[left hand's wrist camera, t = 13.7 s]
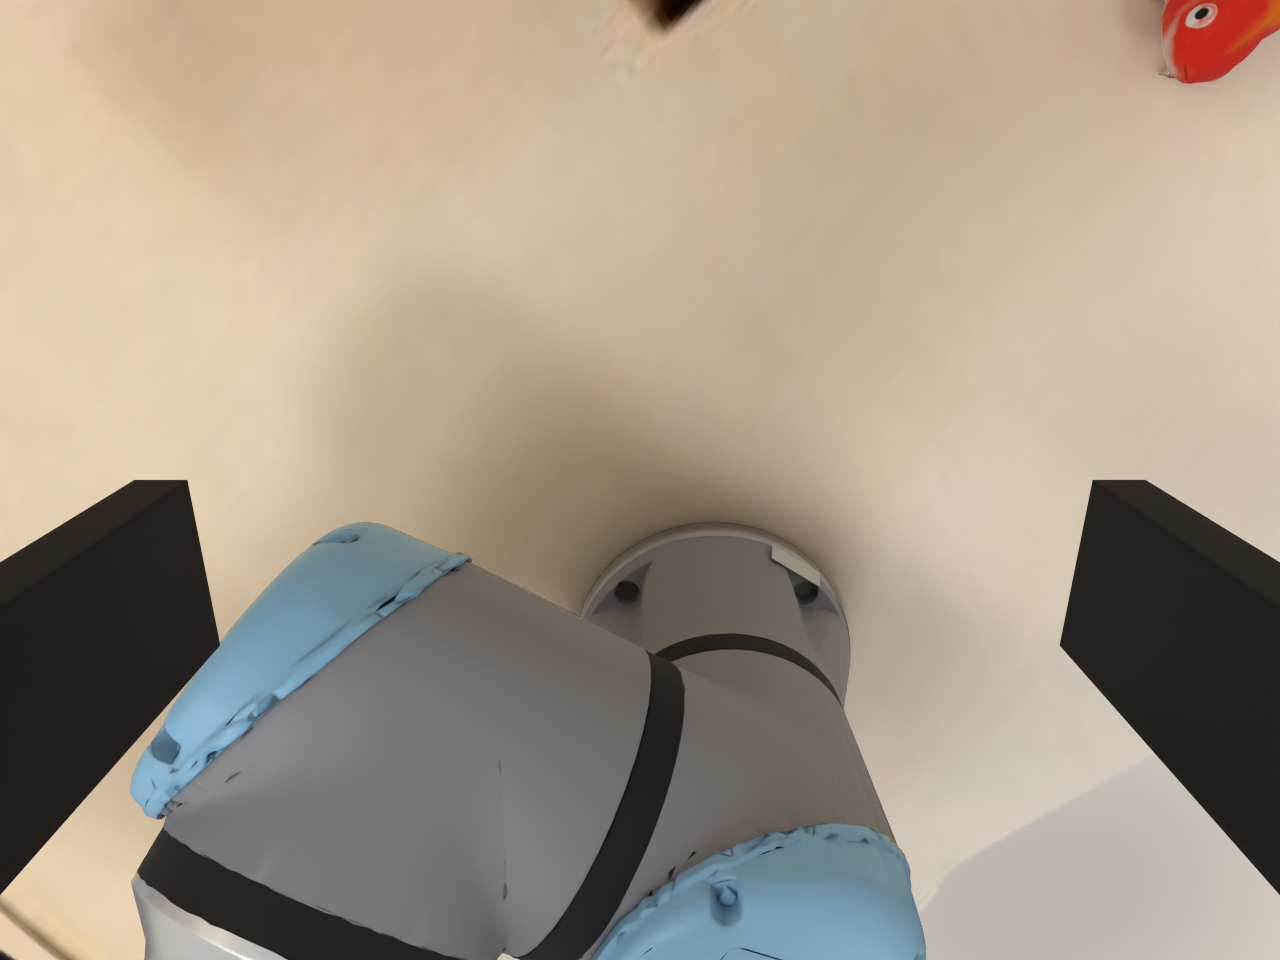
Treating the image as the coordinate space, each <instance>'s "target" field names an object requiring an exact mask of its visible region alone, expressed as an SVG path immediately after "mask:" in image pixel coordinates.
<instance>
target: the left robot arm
mask: <svg viewBox="0 0 1280 960" xmlns="http://www.w3.org/2000/svg"><path fill="white" fill-rule="evenodd" d="M471 562H472V558H470V557H469V556H468V555H466V554H464V553H460V552H458V553H454V554H451V553H449V552H447V551H444V550H442V549H440V548H437V547H435V546H433V545H430V544H428V543H426V542H423V541H421V540H419V539H416V538H414V537H412V536H409V535H407V534H405V533H402V532H400V531H398V530H395V529H393V528H391V527H388V526H386V525H382V524H378V523H371V522H363V523H355V524H350V525H346V526H343V527H340V528H338V529H336V530H334V531H332V532H330V533H328V534H326V535H325V536H323V537H322V538H320V539H319V540H318V541H316V542H315V543H313V544H312V545H311V546H310V547H309V548H308V549H306V550H305V551H304V552H303V553H302V554H300V555H299V556H298V557H297V558H296V559H295V560H294V561H293V562H292V563H291V564H289V565H288V566H287V567H286V568H285V569H284V570H283V571H282V572H281V573H280V574H279V575H278V576H277V577H276V578H275V579H274V580H273V582H272V583H271V584H270V585H269V586H268V587H267V588H266V589H265V590H264V591H263V592H262V594H261V595H260V596H259V597H258V598H257V599H256V600H255V601H254V602H253V604H252V605H251V606H250V607H249V608H248V609H247V610H246V611H245V613H244V614H243V615H242V616H241V617H240V619H239V620H238V621H237V622H236V623H235V624H234V626H233V627H232V628H231V629H230V630H229V632H228V633H227V634H226V635H225V637H224V638H223V639H222V640H221V642H219V637H218V632H217V627H216V622H215V617H214V612H213V607H212V602H211V597H210V592H209V587H208V582H207V577H206V572H205V567H204V562H203V557H202V552H201V547H200V542H199V537H198V531H197V526H196V521H195V516H194V511H193V506H192V501H191V496H190V491H189V486H188V481H187V480H134V481H132V482H130V483H129V484H127V485H126V486H124V487H122V488H121V489H119V490H117V491H116V492H114V493H113V494H111V495H109V496H108V497H106V498H104V499H103V500H101V501H99V502H98V503H96V504H95V505H93V506H91V507H90V508H88V509H86V510H85V511H83V512H82V513H80V514H78V515H77V516H75V517H73V518H72V519H70V520H68V521H67V522H65V523H64V524H62V525H60V526H59V527H57V528H55V529H54V530H52V531H51V532H49V533H47V534H46V535H44V536H42V537H41V538H39V539H38V540H36V541H34V542H33V543H31V544H29V545H28V546H26V547H24V548H23V549H21V550H20V551H18V552H16V553H15V554H13V555H11V556H10V557H8V558H7V559H5V560H3V561H2V562H0V894H1V893H2V892H3V891H4V890H5V889H6V888H7V887H8V885H9V884H10V883H11V882H12V881H13V880H14V879H15V877H16V876H17V875H18V874H19V873H20V872H21V871H22V870H23V868H24V867H25V866H26V865H27V864H28V863H29V862H30V860H31V859H32V858H33V857H34V856H35V855H36V854H37V853H38V851H39V850H40V849H41V848H42V847H43V846H44V845H45V843H46V842H47V841H48V840H49V839H50V838H51V837H52V836H53V834H54V833H55V832H56V831H57V830H58V829H59V828H60V826H61V825H62V824H63V823H64V822H65V821H66V820H67V819H68V817H69V816H70V815H71V814H72V813H73V812H74V811H75V809H76V808H77V807H78V806H79V805H80V804H81V803H82V802H83V800H84V799H85V798H86V797H87V796H88V795H89V794H90V792H91V791H92V790H93V789H94V788H95V787H96V786H97V785H98V783H99V782H100V781H101V780H102V779H103V778H104V777H105V775H106V774H107V773H108V772H109V771H110V770H111V769H112V768H113V766H114V765H115V764H116V763H117V762H118V761H119V760H120V758H121V757H122V756H123V755H124V754H125V753H126V752H127V751H128V749H129V748H130V747H131V746H132V745H133V744H134V743H135V741H136V740H137V739H138V738H139V737H140V736H141V735H142V734H143V732H144V731H145V730H146V729H147V728H148V727H149V726H150V724H151V723H152V722H153V721H154V720H155V719H156V718H157V717H158V715H159V714H160V713H161V712H162V711H163V710H164V709H165V707H166V706H167V705H168V704H169V703H170V702H171V701H172V700H173V698H174V697H175V696H176V695H177V694H178V693H179V692H180V691H181V689H182V688H183V687H184V686H185V685H186V684H187V683H188V681H189V680H190V679H191V678H192V677H193V676H194V677H193V678H192V679H191V681H190V682H189V683H188V685H187V686H186V687H185V689H184V690H183V692H182V693H181V695H180V696H179V698H178V699H177V701H176V702H175V703H174V705H173V706H172V708H171V709H170V711H169V713H168V714H167V717H166V719H165V722H164V723H165V724H164V725H163V727H162V728H161V729H160V731H159V732H158V734H157V735H156V737H155V738H154V740H153V741H152V742H151V744H150V745H149V746H148V748H147V749H146V750H145V752H144V753H143V755H142V756H141V758H140V760H139V762H138V764H137V766H136V769H135V771H134V774H133V777H132V780H131V789H130V791H131V795H132V797H133V798H134V800H135V801H136V802H137V803H138V804H140V805H141V806H142V807H143V811H144V813H145V815H146V816H149V817H152V818H154V819H162V818H164V817H165V816H167V817H166V820H165V823H164V826H163V828H162V830H161V831H160V833H159V835H158V836H157V838H156V840H155V841H154V843H153V845H152V846H151V848H150V850H149V852H148V853H147V855H146V857H145V858H144V860H143V862H142V863H141V865H140V867H139V868H138V870H137V872H136V874H135V875H134V877H133V879H132V881H131V883H132V889H133V893H134V896H135V900H136V904H137V908H138V912H139V916H140V920H141V924H142V928H143V932H144V935H145V939H146V944H145V959H144V960H497V959H498V957H499V956H500V955H501V953H505V954H508V955H511V956H512V957H514V958H517V959H520V960H926V952H925V950H926V945H925V939H924V934H923V929H922V925H921V922H920V919H919V915H918V912H917V909H916V905H915V902H914V899H913V895H912V892H911V882H910V868H909V865H908V862H907V860H906V858H905V855H904V854H903V852H902V850H901V849H899V848H898V845H897V843H896V840H895V838H894V835H893V833H892V830H891V828H890V825H889V823H888V820H887V818H886V815H885V813H884V810H883V808H882V805H881V803H880V800H879V798H878V795H877V793H876V790H875V788H874V785H873V783H872V780H871V778H870V775H869V773H868V770H867V768H866V765H865V763H864V760H863V758H862V755H861V753H860V750H859V748H858V745H857V743H856V740H855V738H854V735H853V733H852V730H851V728H850V725H849V723H848V720H847V718H846V715H845V712H844V710H843V709H844V702H845V696H846V689H847V682H848V675H849V668H850V637H849V632H848V626H847V623H846V619H845V616H844V613H843V611H842V609H841V606H840V604H839V602H838V600H837V598H836V595H835V593H834V591H833V589H832V587H831V585H830V584H829V582H828V580H827V579H826V577H825V576H824V575H823V573H822V572H821V571H820V569H819V568H818V567H817V566H816V565H815V564H814V563H813V562H812V561H811V560H810V559H809V558H808V557H807V556H806V555H805V554H804V553H802V552H801V551H800V550H798V549H797V548H796V547H794V546H793V545H791V544H790V543H788V542H786V541H784V540H783V539H781V538H779V537H777V536H774V535H772V534H770V533H768V532H765V531H762V530H759V529H756V528H752V527H748V526H743V525H737V524H730V523H698V524H691V525H685V526H680V527H676V528H672V529H669V530H666V531H663V532H660V533H658V534H655V535H653V536H651V537H648V538H646V539H645V540H643V541H641V542H639V543H637V544H635V545H634V546H632V547H631V548H630V549H628V550H627V551H625V552H624V553H623V554H621V555H620V556H619V557H618V558H617V559H615V560H614V561H613V562H612V563H611V564H610V565H609V566H608V567H607V568H606V569H605V571H604V572H603V573H602V574H601V576H600V577H599V578H598V579H597V581H596V582H595V584H594V586H593V587H592V589H591V590H590V592H589V594H588V596H587V598H586V600H585V603H584V606H583V608H582V611H581V615H580V617H579V616H577V615H575V614H573V613H571V612H569V611H567V610H565V609H563V608H561V607H559V606H557V605H555V604H553V603H551V602H549V601H547V600H545V599H543V598H541V597H539V596H537V595H535V594H533V593H531V592H529V591H527V590H524V589H522V588H520V587H518V586H516V585H514V584H512V583H510V582H508V581H506V580H504V579H502V578H500V577H498V576H496V575H494V574H492V573H490V572H488V571H486V570H484V569H482V568H480V567H478V566H476V565H474V564H472V563H471ZM1060 646H1061V647H1062V649H1063V650H1064V651H1065V652H1066V653H1067V654H1068V655H1069V657H1070V658H1071V659H1072V660H1073V661H1074V662H1075V663H1076V664H1077V666H1078V667H1079V668H1080V669H1081V670H1082V671H1083V672H1084V674H1085V675H1086V676H1087V677H1088V678H1089V679H1090V680H1091V681H1092V683H1093V684H1094V685H1095V686H1096V687H1097V688H1098V689H1099V691H1100V692H1101V693H1102V694H1103V695H1104V696H1105V697H1106V698H1107V700H1108V701H1109V702H1110V703H1111V704H1112V705H1113V706H1114V708H1115V709H1116V710H1117V711H1118V712H1119V713H1120V714H1121V715H1122V717H1123V718H1124V719H1125V720H1126V721H1127V722H1128V723H1129V724H1130V726H1131V727H1132V728H1133V729H1134V730H1135V731H1136V732H1137V734H1138V735H1139V736H1140V737H1141V738H1142V739H1143V740H1144V741H1145V743H1146V744H1147V745H1148V746H1149V747H1150V748H1151V749H1152V751H1153V752H1154V753H1155V754H1156V755H1157V756H1158V757H1159V758H1160V760H1161V761H1162V762H1163V763H1164V764H1165V765H1166V766H1167V768H1168V769H1169V770H1170V771H1171V772H1172V773H1173V774H1174V775H1175V777H1176V778H1177V779H1178V780H1179V781H1180V782H1181V783H1182V785H1183V786H1184V787H1185V788H1186V789H1187V790H1188V791H1189V792H1190V794H1191V795H1192V796H1193V797H1194V798H1195V799H1196V800H1197V802H1198V803H1199V804H1200V805H1201V806H1202V807H1203V808H1204V809H1205V811H1206V812H1207V813H1208V814H1209V815H1210V816H1211V817H1212V819H1213V820H1214V821H1215V822H1216V823H1217V824H1218V825H1219V826H1220V828H1221V829H1222V830H1223V831H1224V832H1225V833H1226V834H1227V836H1228V837H1229V838H1230V839H1231V840H1232V841H1233V842H1234V843H1235V845H1236V846H1237V847H1238V848H1239V849H1240V850H1241V851H1242V853H1243V854H1244V855H1245V856H1246V857H1247V858H1248V859H1249V860H1250V862H1251V863H1252V864H1253V865H1254V866H1255V867H1256V868H1257V869H1258V871H1259V872H1260V873H1261V874H1262V875H1263V876H1264V877H1265V879H1266V880H1267V881H1268V882H1269V883H1270V884H1271V885H1272V886H1273V888H1274V889H1275V890H1276V891H1277V892H1278V893H1279V894H1280V562H1278V561H1277V560H1275V559H1273V558H1272V557H1270V556H1269V555H1267V554H1265V553H1264V552H1262V551H1260V550H1259V549H1257V548H1256V547H1254V546H1252V545H1251V544H1249V543H1247V542H1246V541H1244V540H1242V539H1241V538H1239V537H1238V536H1236V535H1234V534H1233V533H1231V532H1229V531H1228V530H1226V529H1225V528H1223V527H1221V526H1220V525H1218V524H1216V523H1215V522H1213V521H1211V520H1210V519H1208V518H1207V517H1205V516H1203V515H1202V514H1200V513H1198V512H1197V511H1195V510H1194V509H1192V508H1190V507H1189V506H1187V505H1185V504H1184V503H1182V502H1181V501H1179V500H1177V499H1176V498H1174V497H1172V496H1171V495H1169V494H1167V493H1166V492H1164V491H1163V490H1161V489H1159V488H1158V487H1156V486H1154V485H1153V484H1151V483H1150V482H1148V481H1146V480H1093V481H1092V486H1091V491H1090V496H1089V501H1088V506H1087V511H1086V516H1085V521H1084V526H1083V531H1082V536H1081V542H1080V547H1079V552H1078V557H1077V562H1076V567H1075V572H1074V577H1073V582H1072V587H1071V592H1070V597H1069V602H1068V607H1067V612H1066V617H1065V622H1064V627H1063V632H1062V637H1061V642H1060ZM196 672H197V673H196Z"/></svg>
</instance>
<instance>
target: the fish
mask: <svg viewBox="0 0 1280 960" xmlns="http://www.w3.org/2000/svg"><path fill="white" fill-rule="evenodd" d="M1164 1H1165V5H1164V9H1163V14H1162V17H1161V30H1160V37H1161V49H1162V56H1163V58H1164V61H1165V64H1166V66H1167V68H1168V70H1169V72H1170V74H1169V75H1166V74H1160V75H1163V76H1166V77H1169V78H1176V79H1178V80H1179V81H1181V82H1182V83H1190V84H1191V83H1197V82H1211V81H1215V80H1217V79H1219V78H1221V77H1223V76H1224V75H1226V74H1227V73H1228V72H1229V71H1230V70H1231V69H1232V68H1233V67H1234V66H1236V65H1237V64H1238V63H1240V62H1241V61H1243V60H1244V59H1245V58H1246V57H1247V56H1248V55H1249V54H1250V53H1251V52H1252V51H1253V50H1254V49H1255V47H1256V46H1257V45H1258V44H1259V42H1260V41H1261V40H1262V39H1264V38H1265V37H1267V36H1269V35H1271V34H1272V33H1274V32H1276V31H1277V30H1279V29H1280V0H1164Z"/></svg>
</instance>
